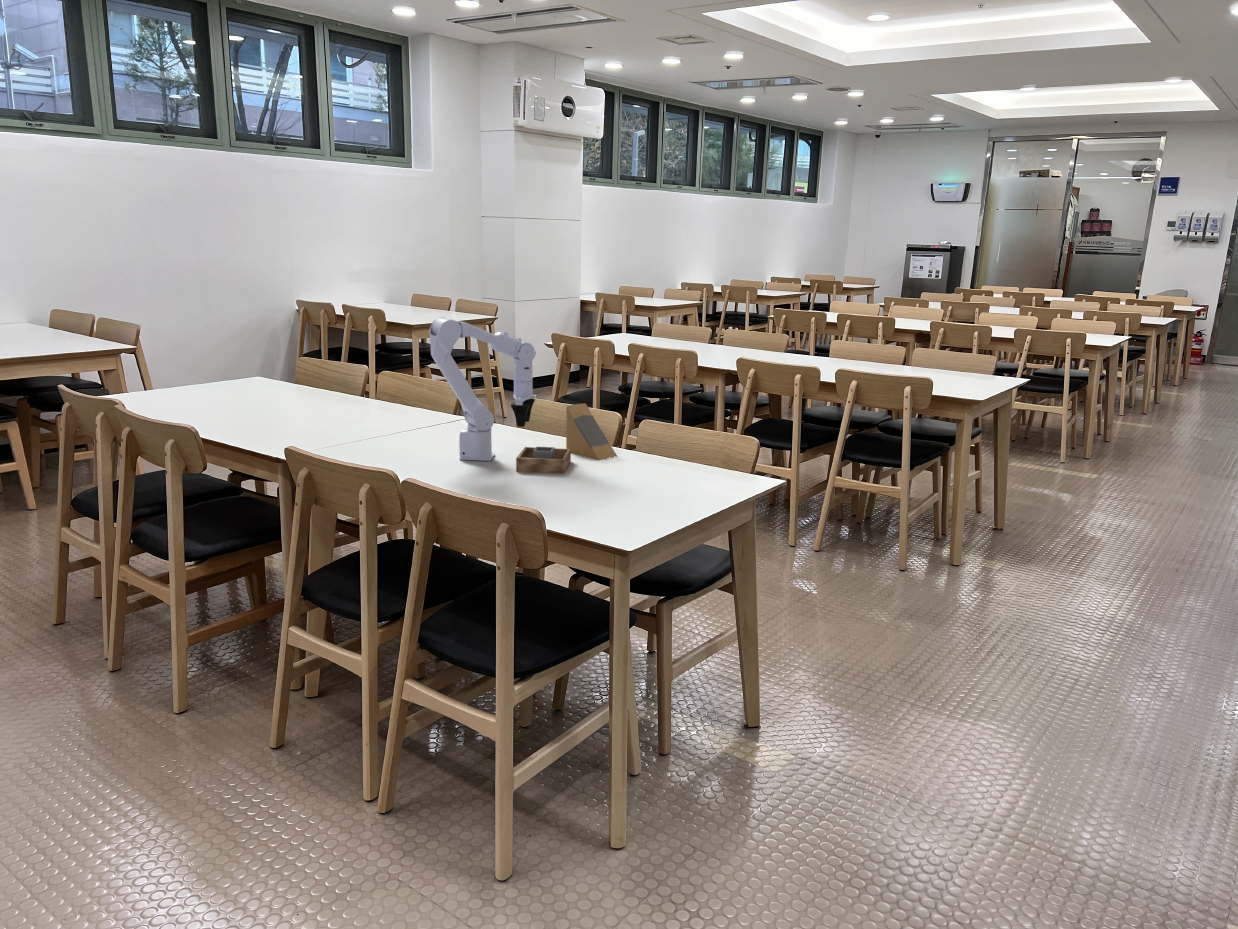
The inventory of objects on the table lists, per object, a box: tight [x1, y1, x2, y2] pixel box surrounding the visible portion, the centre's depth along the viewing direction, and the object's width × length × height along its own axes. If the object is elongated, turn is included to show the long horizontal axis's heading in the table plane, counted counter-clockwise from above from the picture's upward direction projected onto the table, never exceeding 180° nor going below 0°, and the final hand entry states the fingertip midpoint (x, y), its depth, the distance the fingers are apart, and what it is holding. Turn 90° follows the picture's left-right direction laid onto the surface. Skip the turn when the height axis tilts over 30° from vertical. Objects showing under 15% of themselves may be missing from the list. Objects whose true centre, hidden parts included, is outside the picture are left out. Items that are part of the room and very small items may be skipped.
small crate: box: [533, 446, 556, 459], centre depth 257 cm, size 6×6×4 cm
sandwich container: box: [565, 403, 618, 461], centre depth 273 cm, size 9×15×15 cm, turn 46°
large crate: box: [515, 446, 572, 475], centre depth 258 cm, size 14×14×4 cm
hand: (523, 424), depth 271 cm, fingers open, 7 cm apart
